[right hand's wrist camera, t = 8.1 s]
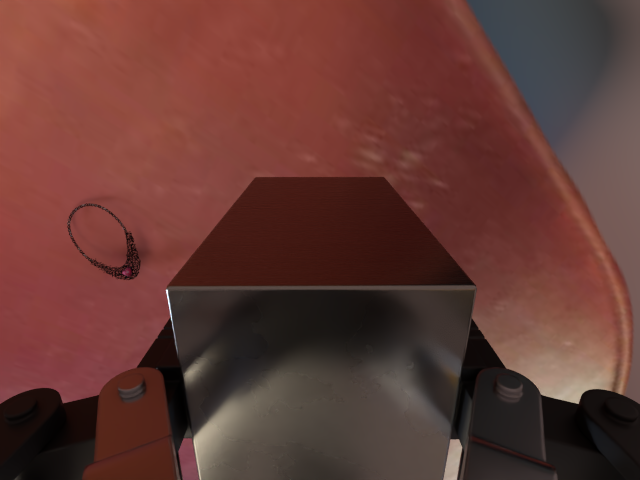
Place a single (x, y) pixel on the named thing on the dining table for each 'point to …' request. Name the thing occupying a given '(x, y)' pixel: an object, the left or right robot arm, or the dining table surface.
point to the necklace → (127, 270)
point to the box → (321, 336)
